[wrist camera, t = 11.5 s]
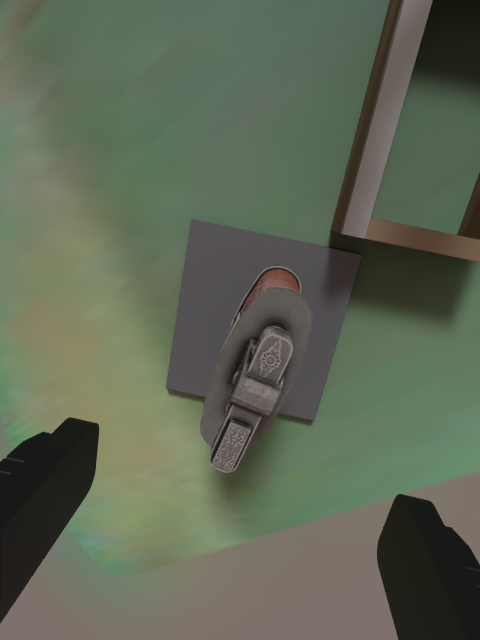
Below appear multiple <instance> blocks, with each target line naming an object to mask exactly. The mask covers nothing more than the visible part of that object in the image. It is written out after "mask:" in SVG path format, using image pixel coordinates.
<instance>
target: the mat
mask: <svg viewBox="0 0 480 640" xmlns="http://www.w3.org/2000/svg"><path fill="white" fill-rule="evenodd" d="M361 258H362V255H361V254H358V253H353V252H348V251H343V250H338V249H333V248H328V247H324V246H319V245H314V244H309V243H304V242H299V241H294V240H290V239H285V238H280V237H275V236H270V235H265V234H260V233H255V232H251V231H246V230H241V229H236V228H231V227H226V226H221V225H216V224H212V223H207V222H202V221H197V220H191V226H190V232H189V239H188V245H187V252H186V259H185V265H184V272H183V279H182V285H181V292H180V298H179V305H178V312H177V318H176V325H175V332H174V338H173V345H172V351H171V358H170V365H169V371H168V378H167V385H166V389H170V390H175V391H180V392H184V393H189V394H193V395H198V396H203V397H206V393H207V390H208V387H209V384H210V381H211V378H212V375H213V372H214V369H215V366H216V363H217V360H218V358H219V355H220V353H221V350H222V347H223V345H224V342H225V339H226V337H227V335H228V332H229V329H230V326H231V323H232V320H233V318H234V315H235V313H236V311H237V309H238V307H239V305H240V303H241V301H242V299H243V297H244V295H245V293H246V292H247V290H248V289H249V287H250V286H251V284H252V283H253V281H254V280H255V278H256V277H257V275H258V274H259V272H260V271H261V270H262V269H263V268H264V267H266V266H269V265H271V264H281V265H285V266H288V267H289V268H291V269H292V270H294V272H295V273H296V274H297V275H298V277H299V280H300V283H301V296H302V297H303V298H304V299H305V300H306V301H307V303H308V305H309V308H310V311H311V313H312V316H313V320H312V329H311V332H310V336H309V340H308V344H307V347H306V351H305V355H304V359H303V362H302V364H301V366H300V369H299V371H298V374H297V376H296V379H295V381H294V384H293V386H292V389H291V391H290V393H289V395H288V397H287V398H286V400H285V402H284V403H283V405H282V407H281V408H280V410H279V412H278V413H280V414H285V415H290V416H294V417H299V418H303V419H308V420H313V421H314V420H315V417H316V413H317V410H318V407H319V403H320V400H321V396H322V393H323V389H324V386H325V382H326V379H327V375H328V372H329V368H330V365H331V361H332V358H333V355H334V351H335V348H336V344H337V341H338V337H339V334H340V330H341V327H342V323H343V320H344V316H345V313H346V310H347V306H348V303H349V299H350V296H351V292H352V289H353V285H354V282H355V278H356V275H357V271H358V268H359V264H360V261H361Z"/></svg>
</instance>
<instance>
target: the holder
mask: <svg viewBox="0 0 480 640" xmlns="http://www.w3.org/2000/svg"><path fill="white" fill-rule="evenodd" d="M432 1H433V0H390V3H389V7H388V11H387V15H386V18H385V22H384V26H383V30H382V34H381V38H380V42H379V45H378V49H377V53H376V57H375V61H374V65H373V69H372V72H371V76H370V80H369V84H368V88H367V92H366V96H365V99H364V103H363V107H362V111H361V115H360V119H359V123H358V127H357V130H356V134H355V138H354V142H353V146H352V150H351V154H350V157H349V161H348V165H347V169H346V173H345V177H344V181H343V184H342V188H341V192H340V196H339V200H338V204H337V208H336V211H335V215H334V219H333V223H332V227H331V230H332V231H335V232H338V233H340V234H344V235H349V236H354V237H359V238H363V239H364V238H365V239H370V240H375V241H380V242H384V243H389V244H394V245H399V246H404V247H409V248H414V249H419V250H424V251H429V252H433V253H438V254H443V255H448V256H453V257H458V258H463V259H468V260H473V261H477V262H480V174H479V177H478V180H477V182H476V185H475V188H474V191H473V194H472V196H471V199H470V202H469V205H468V207H467V210H466V213H465V216H464V219H463V221H462V224H461V227H460V230H459V233H458V235H453V234H449V233H444V232H439V231H434V230H429V229H424V228H419V227H414V226H409V225H404V224H399V223H394V222H389V221H384V220H379V219H374V218H371V214H372V211H373V207H374V204H375V200H376V197H377V193H378V190H379V186H380V183H381V179H382V176H383V172H384V169H385V165H386V162H387V158H388V155H389V151H390V148H391V144H392V141H393V137H394V134H395V130H396V127H397V123H398V120H399V116H400V113H401V109H402V106H403V102H404V99H405V95H406V92H407V89H408V85H409V82H410V78H411V75H412V71H413V68H414V64H415V61H416V57H417V54H418V50H419V47H420V43H421V40H422V36H423V33H424V29H425V26H426V22H427V19H428V15H429V12H430V8H431V5H432Z"/></svg>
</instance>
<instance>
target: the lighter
mask: <svg viewBox="0 0 480 640" xmlns="http://www.w3.org/2000/svg"><path fill="white" fill-rule="evenodd" d="M312 320H313V316H312V313H311V311H310V308H309V305H308V303H307V301H306V300H305V299H304V298H303V297H302V296H301V283H300V280H299V277H298V275H297V274H296V273H295V272H294V270H292V269H291V268H289V267H288V266H285V265H281V264H271V265H269V266H266V267H264V268H263V269H262V270H261V271H260V272H259V274H258V275H257V277H256V278H255V280H254V281H253V283H252V284H251V286H250V287H249V289H248V290H247V292H246V293H245V295H244V297H243V299H242V301H241V303H240V305H239V307H238V309H237V311H236V313H235V315H234V318H233V320H232V323H231V326H230V329H229V332H228V335H227V337H226V339H225V342H224V345H223V347H222V350H221V353H220V355H219V358H218V360H217V363H216V366H215V369H214V372H213V375H212V378H211V381H210V384H209V387H208V390H207V393H206V397H205V402H204V408H203V413H202V418H201V423H200V430H201V434H202V436H203V438H204V440H205V441H206V442H207V443H208V444H209V445H210V446H211V447H212V448H211V452H210V456H209V464H210V465H211V466H212V467H213V468H215V469H217V470H219V471H222V472H225V473H231V472H233V471H235V469H236V468H237V467H238V465H239V462H240V460H241V458H242V456H243V454H244V452H246V451H248V450H249V449H250V448H251V447H253V446H254V444H255V443H256V442H257V441H258V439H259V438H260V437H261V436H262V434H263V433H264V432H265V431H266V429H267V428H268V427H269V425H270V424H271V423H272V422H273V420H274V418H275V417H276V415H277V413H278V412H279V410H280V408H281V407H282V405H283V403H284V402H285V400H286V398H287V397H288V395H289V393H290V391H291V389H292V386H293V384H294V381H295V379H296V376H297V374H298V371H299V369H300V366H301V364H302V362H303V359H304V355H305V351H306V347H307V344H308V340H309V336H310V332H311V329H312Z"/></svg>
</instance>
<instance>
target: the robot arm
mask: <svg viewBox="0 0 480 640" xmlns="http://www.w3.org/2000/svg"><path fill="white" fill-rule="evenodd" d="M98 438H99V425H98V424H97V423H93V422H89V421H84V420H80V419H76V418H71V417H70V418H67V419H66V420H65V421H64V422H63V423H62V424H61V425H60V426H59V427H58V428H57V429H56V430H55V431H54V432H53V433H52V434H50V433H46V432H42V433H39V434H37V435H35V436H33V437H31V438H29V439H27V440H25V441H23V442H22V443H21V444H19V445H18V446H17V447H16V448H15V449H14V450H13V451H12V452H11V453H10V454H8V455H7V458H6V459H3V460H2V461H1V462H0V623H1V622H2V620H3V619H4V617H5V616H6V614H7V613H8V611H9V610H10V608H11V607H12V605H13V604H14V603H15V601H16V599H17V598H18V596H19V595H20V594H21V592H22V590H23V589H24V588H25V586H26V585H27V583H28V582H29V580H30V579H31V577H32V576H33V574H34V573H35V571H36V570H37V568H38V567H39V565H40V564H41V562H42V561H43V559H44V558H45V556H46V555H47V553H48V552H49V550H50V549H51V547H52V546H53V544H54V543H55V541H56V540H57V539H58V537H59V536H60V534H61V533H62V531H63V530H64V528H65V527H66V525H67V524H68V522H69V521H70V519H71V518H72V516H73V515H74V513H75V512H76V510H77V509H78V507H79V506H80V504H81V503H82V501H83V500H84V498H85V497H86V495H87V494H88V492H89V490H90V487H91V485H92V482H93V479H94V475H95V470H96V459H97V449H98ZM377 561H378V567H379V570H380V574H381V578H382V581H383V585H384V589H385V592H386V596H387V599H388V603H389V606H390V611H391V614H392V617H393V621H394V625H395V629H396V632H397V636H398V640H480V565H479V563H478V561H477V559H476V558H475V556H474V554H473V552H472V550H471V549H470V547H469V546H468V545H467V544H466V543H465V542H464V541H463V540H462V539H461V537H460V536H459V535H458V534H457V533H456V532H455V531H454V530H453V529H452V528H451V527H446V526H445V525H444V524H443V522H442V520H441V518H440V516H439V514H438V512H437V510H436V508H435V507H434V505H433V503H432V502H431V501H428V500H424V499H420V498H416V497H411V496H407V495H403V494H399V495H397V496H396V498H395V499H394V502H393V504H392V507H391V509H390V512H389V514H388V517H387V520H386V522H385V525H384V527H383V530H382V532H381V535H380V538H379V541H378V547H377Z"/></svg>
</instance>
